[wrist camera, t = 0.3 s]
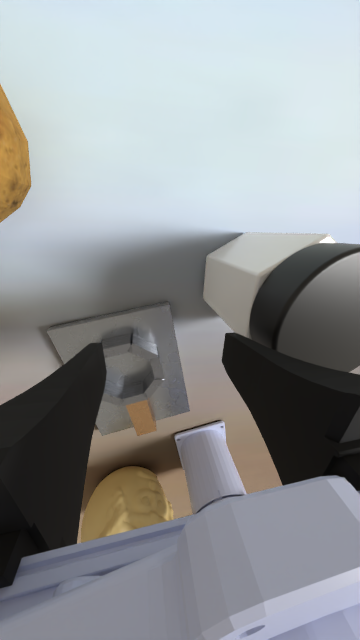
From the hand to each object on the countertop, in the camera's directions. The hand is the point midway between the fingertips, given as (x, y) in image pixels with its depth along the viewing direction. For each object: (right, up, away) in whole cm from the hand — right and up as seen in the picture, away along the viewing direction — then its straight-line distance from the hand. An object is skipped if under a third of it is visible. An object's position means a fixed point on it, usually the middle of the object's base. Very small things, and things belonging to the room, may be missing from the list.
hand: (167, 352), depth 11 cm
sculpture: (-8, -24, +21) cm, 33 cm away
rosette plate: (-5, -5, +12) cm, 14 cm away
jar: (+7, +7, +10) cm, 14 cm away
